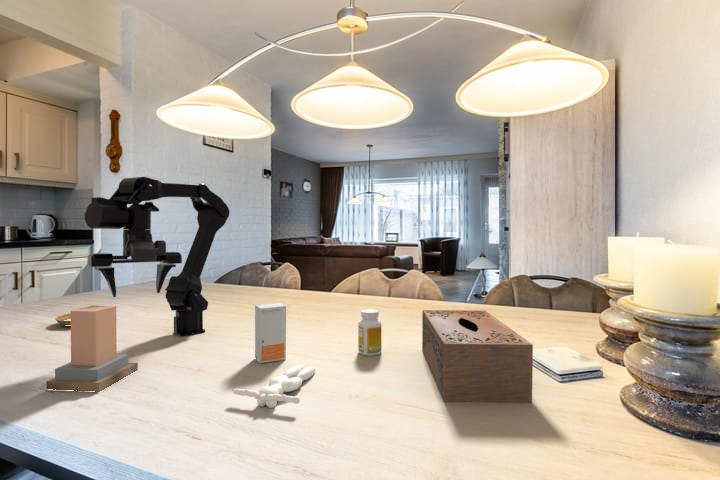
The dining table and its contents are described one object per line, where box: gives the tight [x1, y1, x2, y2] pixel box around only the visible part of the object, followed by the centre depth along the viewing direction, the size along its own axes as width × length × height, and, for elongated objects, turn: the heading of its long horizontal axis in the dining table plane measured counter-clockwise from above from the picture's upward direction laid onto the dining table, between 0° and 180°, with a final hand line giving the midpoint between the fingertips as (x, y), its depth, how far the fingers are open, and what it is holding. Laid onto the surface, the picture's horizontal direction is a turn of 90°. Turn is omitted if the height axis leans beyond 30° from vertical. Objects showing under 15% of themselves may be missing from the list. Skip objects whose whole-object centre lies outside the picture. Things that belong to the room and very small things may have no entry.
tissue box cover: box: [421, 309, 534, 404], centre depth 74 cm, size 26×14×10 cm, turn 178°
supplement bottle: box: [357, 308, 383, 357], centre depth 87 cm, size 5×5×10 cm
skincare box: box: [254, 302, 287, 364], centre depth 82 cm, size 6×4×12 cm
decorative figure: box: [232, 364, 316, 409], centre depth 67 cm, size 4×12×18 cm
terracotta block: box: [69, 305, 118, 366], centre depth 71 cm, size 5×5×10 cm
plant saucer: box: [54, 313, 71, 326], centre depth 115 cm, size 15×15×3 cm
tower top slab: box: [54, 354, 129, 381], centre depth 71 cm, size 8×8×2 cm
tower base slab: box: [45, 362, 139, 393], centre depth 71 cm, size 10×10×2 cm
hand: (137, 294), depth 89 cm, fingers open, 9 cm apart
